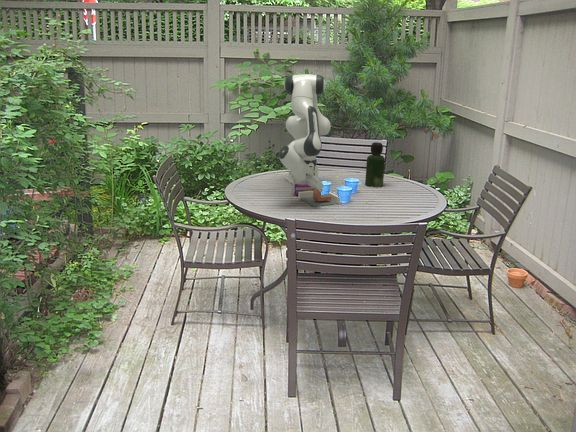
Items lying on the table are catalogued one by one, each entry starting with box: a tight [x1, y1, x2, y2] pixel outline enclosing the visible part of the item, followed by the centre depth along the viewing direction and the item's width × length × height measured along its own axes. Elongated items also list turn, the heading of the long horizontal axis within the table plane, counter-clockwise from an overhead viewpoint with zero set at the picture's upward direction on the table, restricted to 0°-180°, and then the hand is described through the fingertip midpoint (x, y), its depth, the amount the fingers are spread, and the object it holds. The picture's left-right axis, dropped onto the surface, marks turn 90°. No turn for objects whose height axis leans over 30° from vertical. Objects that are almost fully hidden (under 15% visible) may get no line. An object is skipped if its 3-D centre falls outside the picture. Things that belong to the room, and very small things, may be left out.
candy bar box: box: [291, 164, 315, 197], centre depth 343 cm, size 11×5×16 cm, turn 105°
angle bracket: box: [313, 188, 331, 201], centre depth 329 cm, size 5×8×9 cm, turn 116°
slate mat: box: [299, 197, 340, 207], centre depth 332 cm, size 16×14×1 cm
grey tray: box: [297, 191, 342, 205], centre depth 332 cm, size 18×16×4 cm
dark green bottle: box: [364, 141, 386, 188], centre depth 370 cm, size 10×10×25 cm
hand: (318, 189), depth 328 cm, fingers closed on angle bracket, 5 cm apart
